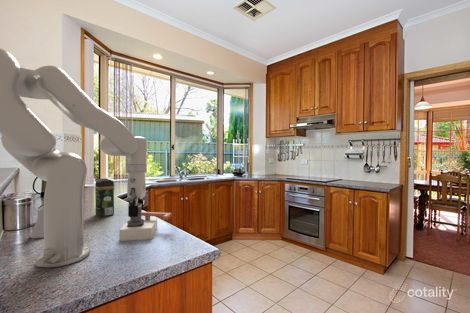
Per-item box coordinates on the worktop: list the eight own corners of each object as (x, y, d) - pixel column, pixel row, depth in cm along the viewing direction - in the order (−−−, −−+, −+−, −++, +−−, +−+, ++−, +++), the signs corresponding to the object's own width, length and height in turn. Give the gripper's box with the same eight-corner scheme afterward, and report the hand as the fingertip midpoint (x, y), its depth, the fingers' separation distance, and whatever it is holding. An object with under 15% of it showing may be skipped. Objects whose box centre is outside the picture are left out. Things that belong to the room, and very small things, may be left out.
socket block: (151, 238, 84) (151, 223, 84) (119, 240, 82) (119, 225, 81) (157, 226, 97) (157, 213, 97) (129, 228, 95) (129, 214, 95)
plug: (142, 237, 85) (142, 205, 85) (125, 238, 84) (125, 205, 84) (145, 231, 91) (145, 202, 91) (129, 232, 90) (129, 202, 90)
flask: (40, 239, 82) (40, 212, 82) (24, 238, 83) (24, 211, 83) (59, 233, 89) (59, 207, 89) (44, 231, 90) (44, 206, 90)
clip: (123, 217, 91) (123, 213, 91) (131, 213, 96) (131, 210, 96) (166, 219, 89) (166, 215, 89) (172, 215, 94) (172, 211, 94)
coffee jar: (93, 214, 117) (93, 178, 117) (110, 211, 122) (110, 177, 122) (98, 218, 110) (98, 179, 109) (115, 215, 115) (116, 178, 115)
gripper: (141, 170, 80) (141, 219, 80) (150, 167, 97) (150, 207, 97) (118, 170, 78) (118, 220, 79) (131, 167, 95) (131, 208, 96)
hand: (136, 213), depth 88 cm, fingers open, 9 cm apart
